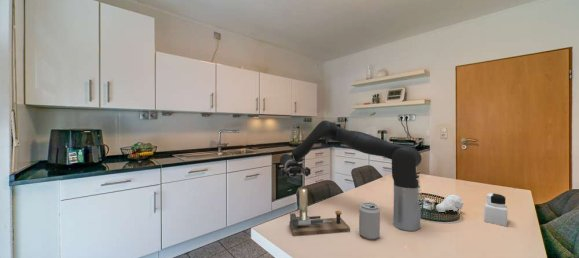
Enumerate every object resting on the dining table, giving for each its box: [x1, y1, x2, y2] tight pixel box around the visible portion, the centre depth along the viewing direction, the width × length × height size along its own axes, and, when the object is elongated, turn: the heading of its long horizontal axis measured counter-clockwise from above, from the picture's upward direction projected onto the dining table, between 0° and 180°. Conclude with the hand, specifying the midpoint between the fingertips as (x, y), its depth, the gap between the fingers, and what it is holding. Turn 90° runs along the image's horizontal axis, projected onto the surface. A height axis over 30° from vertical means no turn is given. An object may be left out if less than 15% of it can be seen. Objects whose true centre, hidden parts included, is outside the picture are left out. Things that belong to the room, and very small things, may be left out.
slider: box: [296, 187, 323, 225], centre depth 91 cm, size 10×4×14 cm, turn 99°
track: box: [289, 210, 351, 237], centre depth 91 cm, size 23×10×6 cm, turn 99°
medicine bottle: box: [483, 192, 508, 227], centre depth 97 cm, size 7×7×12 cm
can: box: [358, 201, 381, 241], centre depth 85 cm, size 8×8×12 cm
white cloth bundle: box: [435, 194, 464, 214], centre depth 107 cm, size 6×8×12 cm
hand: (298, 174), depth 101 cm, fingers open, 8 cm apart
